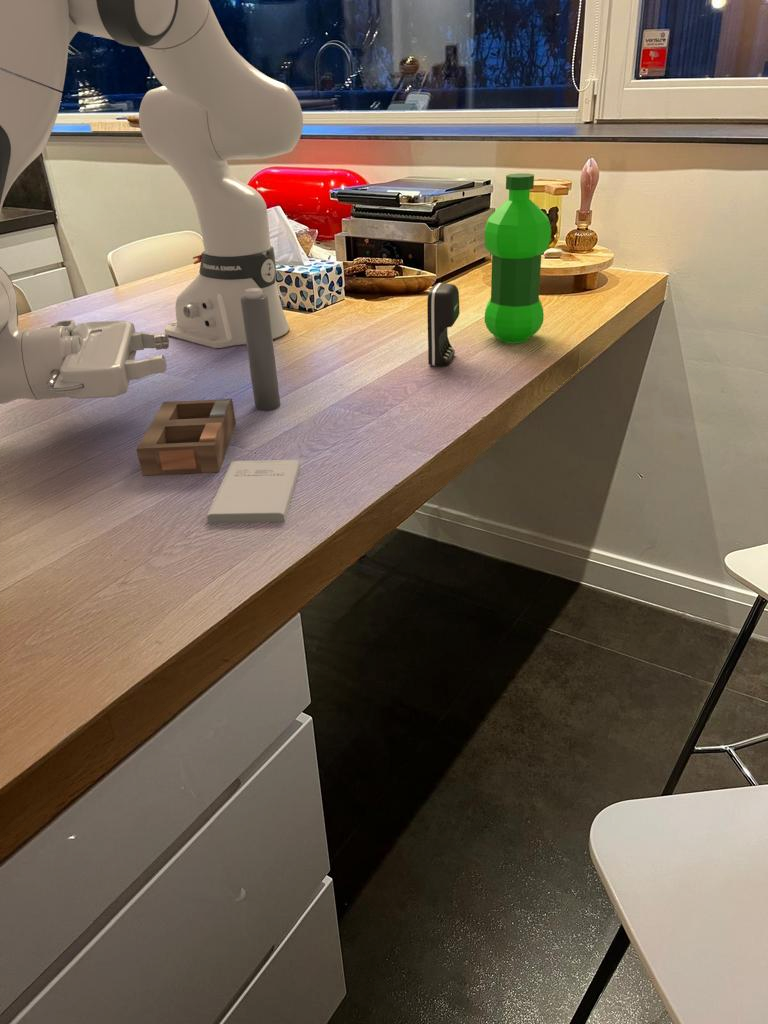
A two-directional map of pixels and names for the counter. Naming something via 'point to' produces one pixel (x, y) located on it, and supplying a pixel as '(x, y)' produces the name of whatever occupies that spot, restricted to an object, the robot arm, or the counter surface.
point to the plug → (260, 349)
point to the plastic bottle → (516, 262)
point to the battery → (441, 322)
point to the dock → (187, 437)
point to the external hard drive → (255, 492)
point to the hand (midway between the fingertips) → (167, 351)
